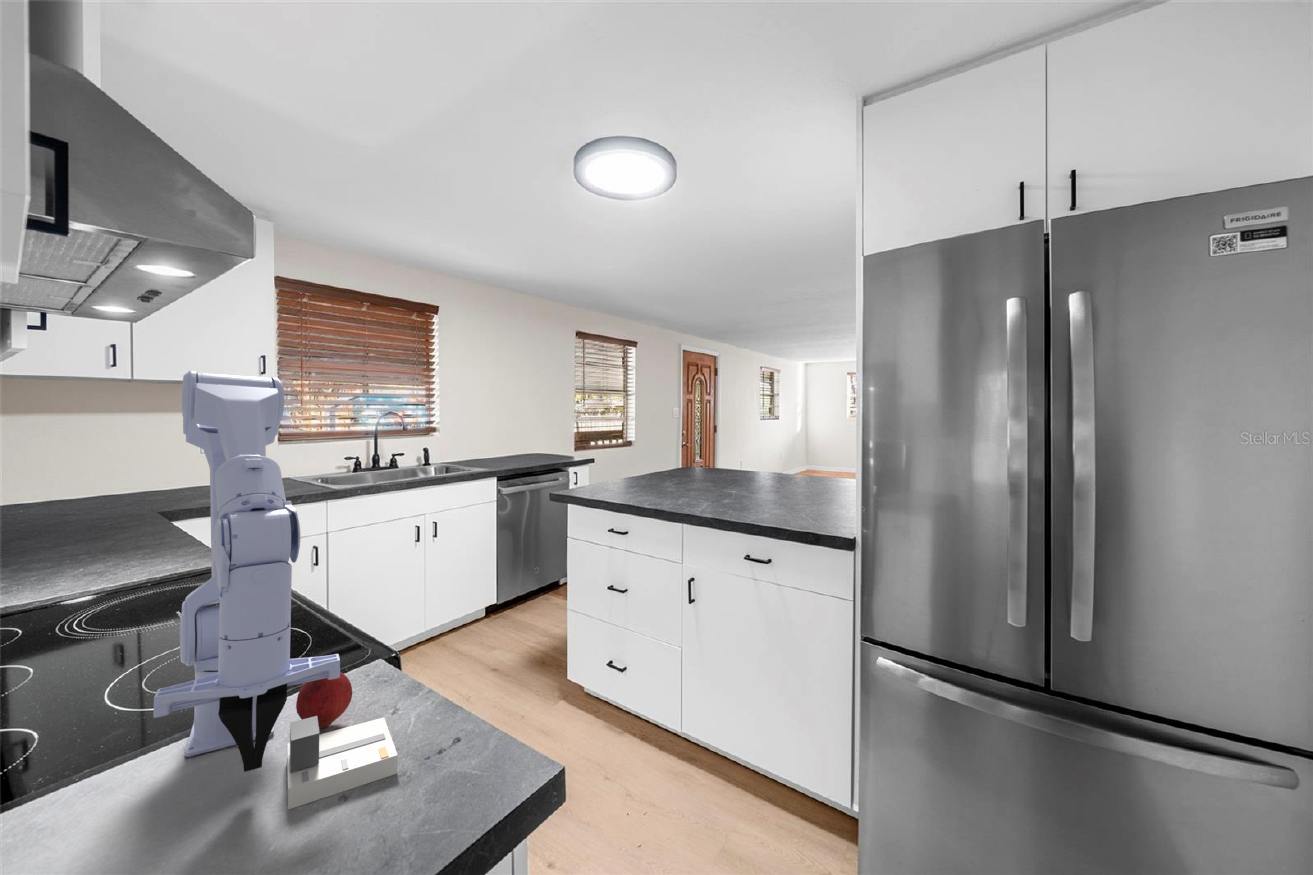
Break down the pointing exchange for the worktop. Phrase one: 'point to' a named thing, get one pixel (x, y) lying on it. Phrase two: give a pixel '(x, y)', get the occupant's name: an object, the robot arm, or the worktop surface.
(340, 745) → the console
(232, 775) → the worktop surface
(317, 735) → the fader knob
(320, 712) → the onion
